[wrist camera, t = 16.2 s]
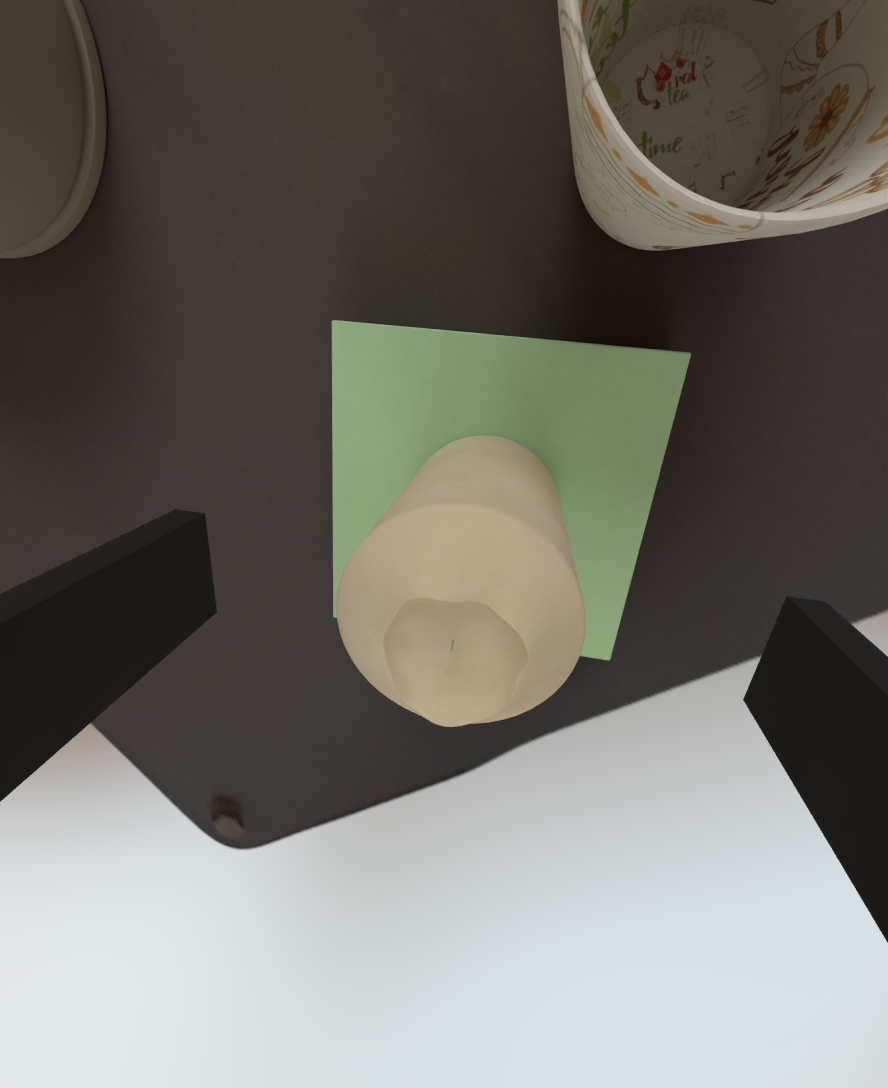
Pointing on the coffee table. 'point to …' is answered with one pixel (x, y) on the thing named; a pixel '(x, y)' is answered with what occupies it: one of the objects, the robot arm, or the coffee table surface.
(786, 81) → the mug
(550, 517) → the candle
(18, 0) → the can
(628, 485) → the foam pad
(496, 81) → the coffee table surface
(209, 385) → the coffee table surface
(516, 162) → the coffee table surface
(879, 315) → the coffee table surface
